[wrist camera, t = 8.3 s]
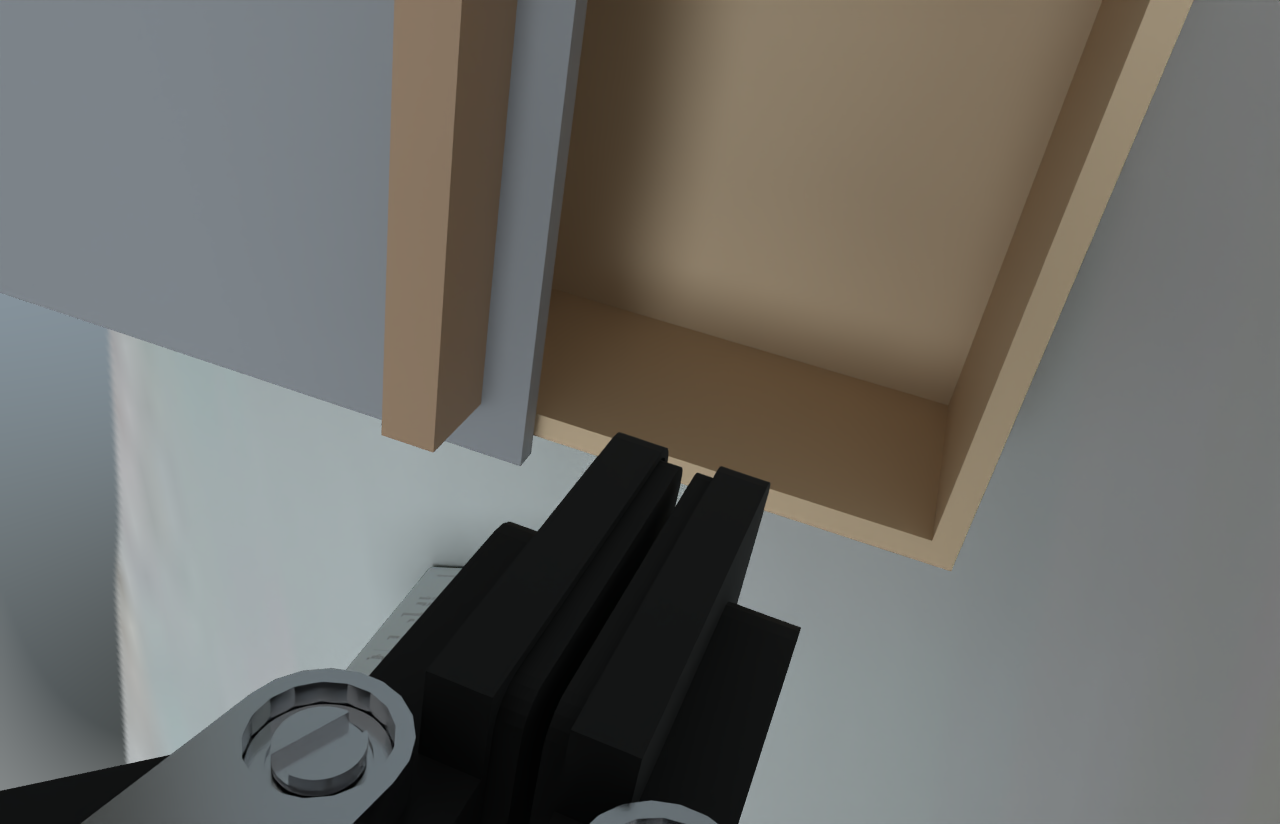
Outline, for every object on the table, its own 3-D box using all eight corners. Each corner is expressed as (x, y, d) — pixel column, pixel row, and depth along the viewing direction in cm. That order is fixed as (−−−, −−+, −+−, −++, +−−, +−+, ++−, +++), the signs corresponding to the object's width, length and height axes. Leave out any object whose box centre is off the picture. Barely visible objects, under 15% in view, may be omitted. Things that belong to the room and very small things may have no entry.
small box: (467, 679, 39) (308, 917, 30) (429, 560, 37) (244, 781, 28) (661, 697, 36) (548, 966, 27) (634, 569, 34) (500, 819, 25)
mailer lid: (625, -306, 16) (558, -335, 13) (531, 453, 23) (477, 518, 21) (-279, -461, 19) (-457, -505, 17) (-105, 243, 27) (-211, 279, 25)
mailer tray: (1193, -160, 20) (1265, -168, 14) (964, 420, 27) (951, 571, 22) (395, -304, 24) (191, -358, 18) (381, 247, 31) (233, 337, 25)
